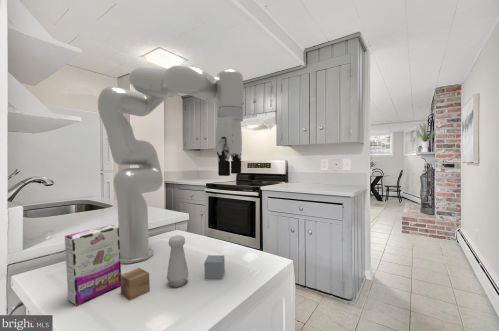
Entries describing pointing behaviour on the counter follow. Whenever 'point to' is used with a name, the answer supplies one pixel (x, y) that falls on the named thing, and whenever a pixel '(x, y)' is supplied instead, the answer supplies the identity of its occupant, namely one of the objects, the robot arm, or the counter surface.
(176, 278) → the salt shaker
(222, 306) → the counter surface
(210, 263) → the slate-grey block
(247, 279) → the counter surface
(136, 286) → the walnut block
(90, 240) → the candy bar box
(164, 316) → the counter surface
